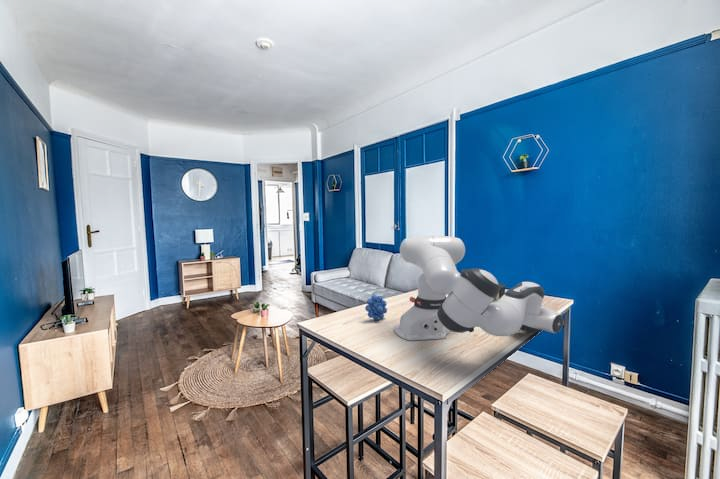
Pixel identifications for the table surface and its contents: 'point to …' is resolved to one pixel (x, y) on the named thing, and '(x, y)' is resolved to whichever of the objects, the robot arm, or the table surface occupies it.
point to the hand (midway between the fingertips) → (501, 302)
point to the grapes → (376, 307)
